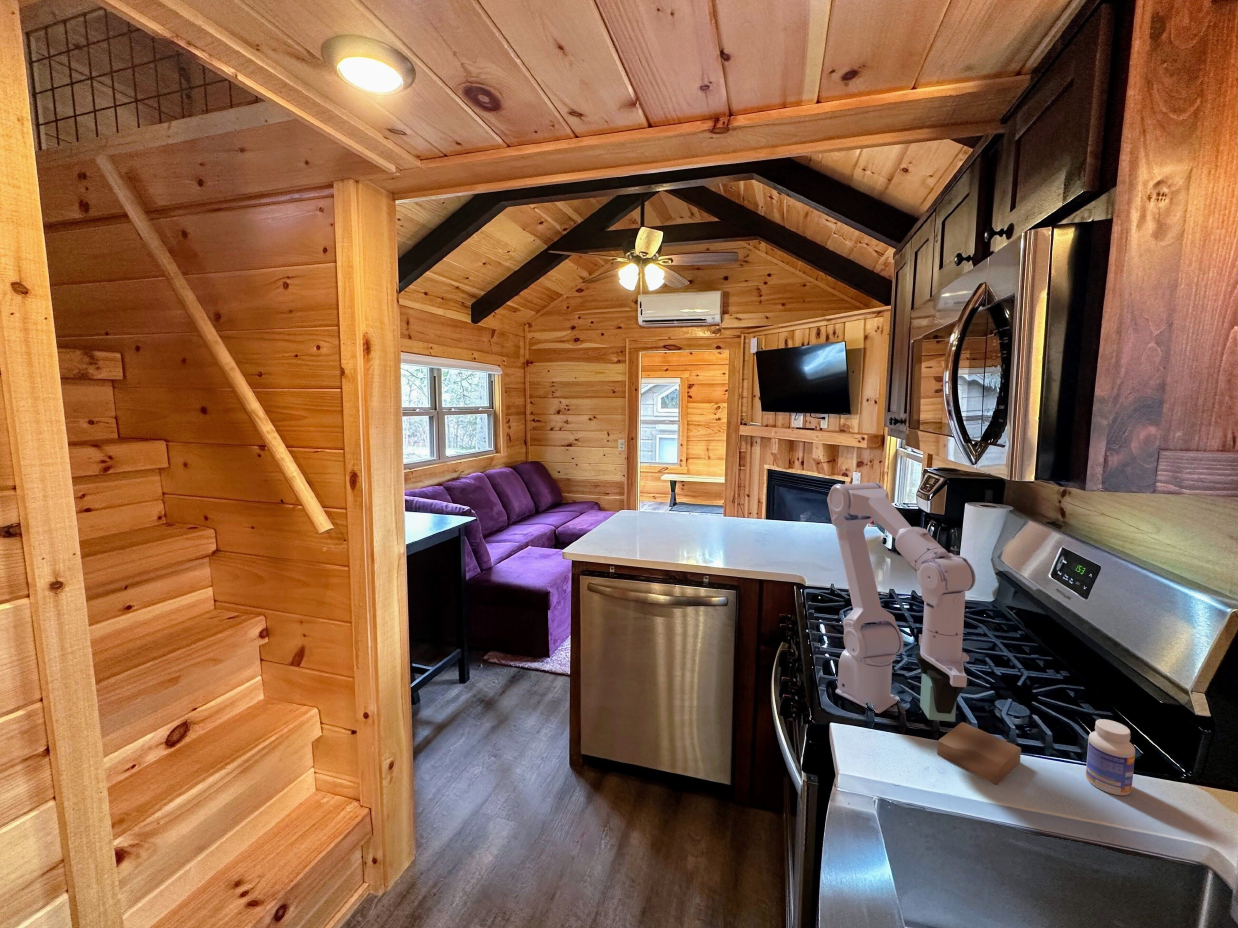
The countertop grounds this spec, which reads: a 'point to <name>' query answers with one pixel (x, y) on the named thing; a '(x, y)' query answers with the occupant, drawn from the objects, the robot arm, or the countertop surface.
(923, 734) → the countertop surface
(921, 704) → the gray-green block
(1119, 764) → the pill bottle
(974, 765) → the walnut block
